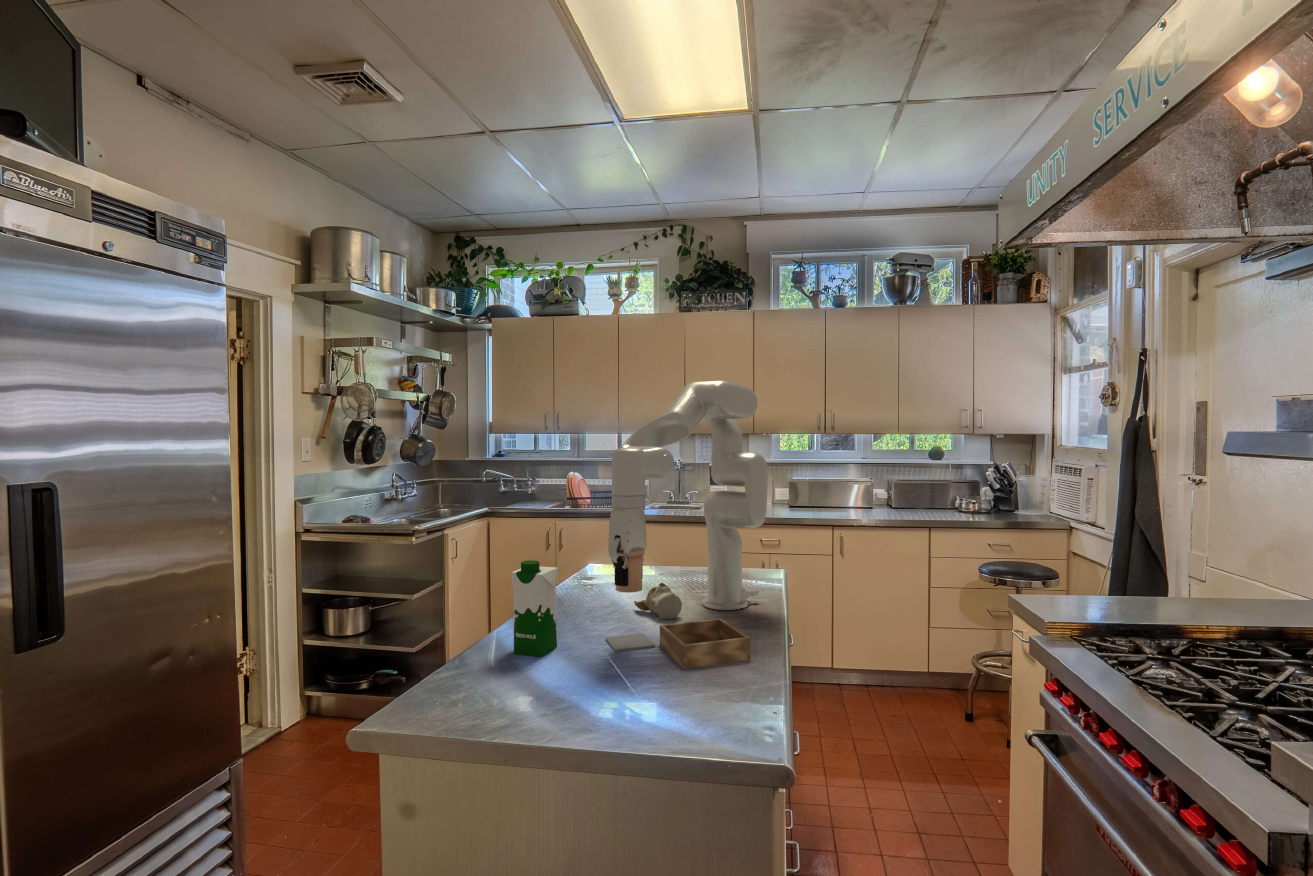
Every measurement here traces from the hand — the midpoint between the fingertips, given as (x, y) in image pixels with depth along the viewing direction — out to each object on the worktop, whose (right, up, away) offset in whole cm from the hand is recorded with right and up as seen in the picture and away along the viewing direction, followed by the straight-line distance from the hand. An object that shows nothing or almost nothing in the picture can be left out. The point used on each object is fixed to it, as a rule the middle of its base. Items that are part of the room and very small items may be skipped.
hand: (628, 581), depth 147 cm
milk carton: (-21, -15, -2) cm, 25 cm away
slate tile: (0, -14, 0) cm, 14 cm away
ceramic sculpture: (+7, -14, +25) cm, 30 cm away
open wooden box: (+16, -14, -6) cm, 23 cm away
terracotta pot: (0, -2, 0) cm, 2 cm away
